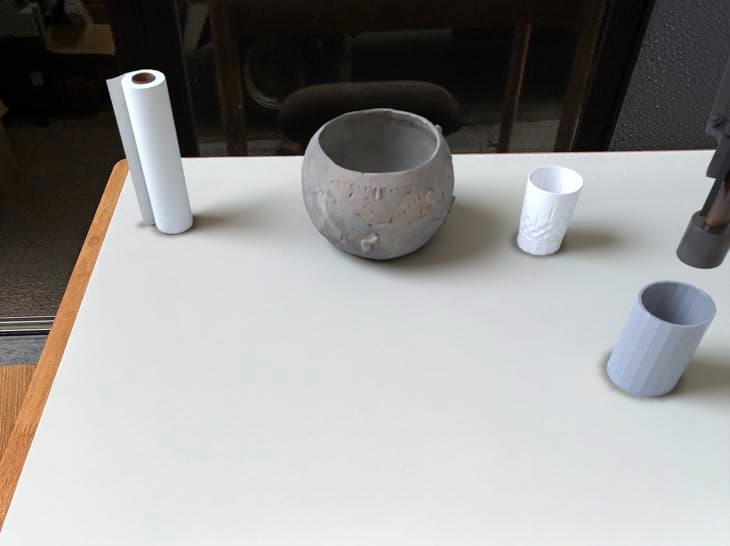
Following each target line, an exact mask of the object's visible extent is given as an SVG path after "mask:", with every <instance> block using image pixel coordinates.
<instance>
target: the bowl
mask: <svg viewBox="0 0 730 546" xmlns="http://www.w3.org/2000/svg"><path fill="white" fill-rule="evenodd" d="M306 147H307V148H306V150H305V153H304V155H303V159H302V164H301V173H300V174H301V175H300V176H301V177H300V178H301V193H302V198H303V204H304V206H305V209H306V212H307V214H308V216H309V218H310V220H311V223H312V224H313V226H314V227H315V229H316V230H317V232H318V233H319V234H320V236H322V237H324V238H325V239H326V240H327V241H329V242H330V243H331V244H333V246H335V247H338V248H339V249H340V250H343V251H345V252H347V253H349V254H352V255H355V256H358V257H361V258H365V259H372V260H378V261H381V260H385V261H386V260H391V259H396V258H400V257H404V256H406V255H409V254H410V253H412V252H415V251H416V250H418V249H419V248H421V247H422V246H423V245H424V244H426V243H427V242H428V241H430V239H431V237H433V236H434V235H435V234H436V232H437V231H438V230H439V228H440V227H441V225H442V223H447V222H448V220H449V217H450V213H451V211H452V210H453V208H454V203H455V201H456V199H457V197H456V196H455V195H454V191H455V171H454V163H453V155H452V154H451V151H450V148H449V144H448V142H447V140H446V139H445V136H443V129H442V127H441V126H440V125H438V124H435V125H434V124H433V123H432V122H431V121H429V120H428V119H427V118H425V117H423V116H420V115H417V114H415V113H412V112H408V111H402V110H397V109H393V108H381V107H380V108H372V109H366V110H360V111H358V110H356V111H352V112H346V113H344V114H341V115H339V116H337V117H335V118H333V119H331V120H330V121H328V122H326V123H324V124H323V125H322V126H321V127H320V128H319V129H318V130H317V131H316V132H315V133H314V134H313V136H312V137H311V138H310V141H309V143H308V144H307V146H306Z"/></svg>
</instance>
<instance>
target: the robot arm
mask: <svg viewBox="0 0 730 546" xmlns="http://www.w3.org/2000/svg"><path fill="white" fill-rule="evenodd" d="M729 102H730V55H729V56H728V59H727V62H726V64H725V68H724V70H723V74H722V78H721V80H720V84H719V87H718V90H717V93H716V95H715V99H714V102H713V104H712V108H711V111H710V113H709V116H708V120H707V124H706V126H705V130H704V131H705V134H706V135H707V136H710V137H711V136H712V137H714V138H715V139H716V140H717V143H718V144H717V147H716V148H715V151H714V153H713V155H712V157H711V159H710V162H709V164H708V166H707V169H706V170H705V178H710V179H714V182H713V184H712V185H711V188H710V191H709V192H708V195H707V197H706V199H705V201H704V204H703V205H702V207H701V209H700V210H701V212H700V214H699V216H702V217H707V215H708V213H709V211H710V209H711V207H712V205H713V203H714V201H715V199H716V197H717V195H718V192H719V190H720V188H721V186H722V184H723V182H724V180H725V177H726V175H727V173H728V171H729V169H730V120H729V119H728V118H726V116H725V114H726V112H727V108H728V105H729Z"/></svg>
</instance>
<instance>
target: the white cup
mask: <svg viewBox="0 0 730 546" xmlns="http://www.w3.org/2000/svg"><path fill="white" fill-rule="evenodd" d="M584 183H585V181H584V178H583V177H582V175H581V174H580V173H578V172H577V171H575V170H573V169H571V168H568V167H564V166H560V165H559V166H558V165H544V166H540V167H537V168H534V169H533V170H532V171H530V172H529V174H528V176H527V182H526V187H525V192H524V197H523V202H522V207H521V214H520V219H519V228H518V232H517V238H516V243H517V245H518V247H519V248H520V249H521V250H522V251H524V252H525V253H529V254H531V255H536V256H547V255H548V256H549V255H552V254H554V253H557V252H558V251H559V250H560V247H561V246H562V242H563V239H564V237H565V234H566V232H567V230H568V227H569V225H570V223H571V220H572V218H573V215H574V211H575V209H576V206H577V204H578V201H579V197H580V195H581V193H582V190H583V187H584Z"/></svg>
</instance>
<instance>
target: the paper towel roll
mask: <svg viewBox="0 0 730 546" xmlns="http://www.w3.org/2000/svg"><path fill="white" fill-rule="evenodd" d="M166 79H167V78H166V76H165V75H164V72H163V73H162V72H161V71H159V70H154V69H140V70H136V71H135V70H134V71H131V72H126V73H123V74H122V75H119V76H117V77H114V78H110V79H106V85H107V89H108V92H109V96H110V100H111V103H112V107H113V112H114V115H115V119H116V122H117V123H116V124H117V127H118V130H119V131H118V132H119V135H120V138H121V142H122V146H123V150H124V154H125V157H126V160H127V161H126V162H127V165H128V169H129V173H130V177H131V180H132V184H133V188H134V191H135V196H136V200H137V204H138V207H139V212H140V215H141V218H142V222H143V225H149V224H151V223H154V222H155V225H156V227H157V229H158V231H160V232H161V233H165V234H169V235H172V234H173V235H174V234H175V235H176V234H177V235H178V234H181V233H184V232H185V231H187V230H190V228H192V226H193V222H194V218H193V214H192V208H191V202H190V198H189V193H188V187H187V183H186V176H185V171H184V167H183V162H182V156H181V152H180V145H179V142H178V141H179V140H178V136H177V130H176V126H175V125H176V124H175V120H174V115H173V109H172V105H171V100H170V95H169V90H168V84H167V80H166Z"/></svg>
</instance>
